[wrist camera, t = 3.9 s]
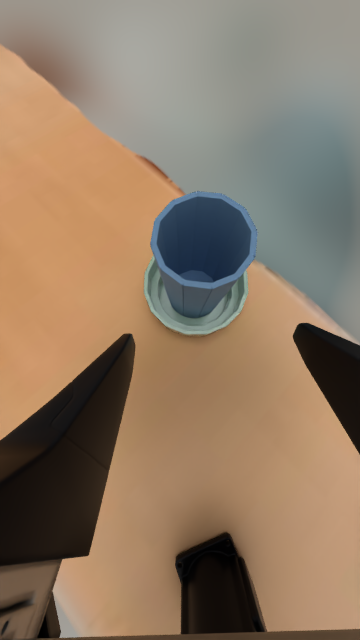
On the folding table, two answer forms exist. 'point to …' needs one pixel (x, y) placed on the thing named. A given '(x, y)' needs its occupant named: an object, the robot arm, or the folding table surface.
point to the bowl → (192, 326)
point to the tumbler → (202, 250)
